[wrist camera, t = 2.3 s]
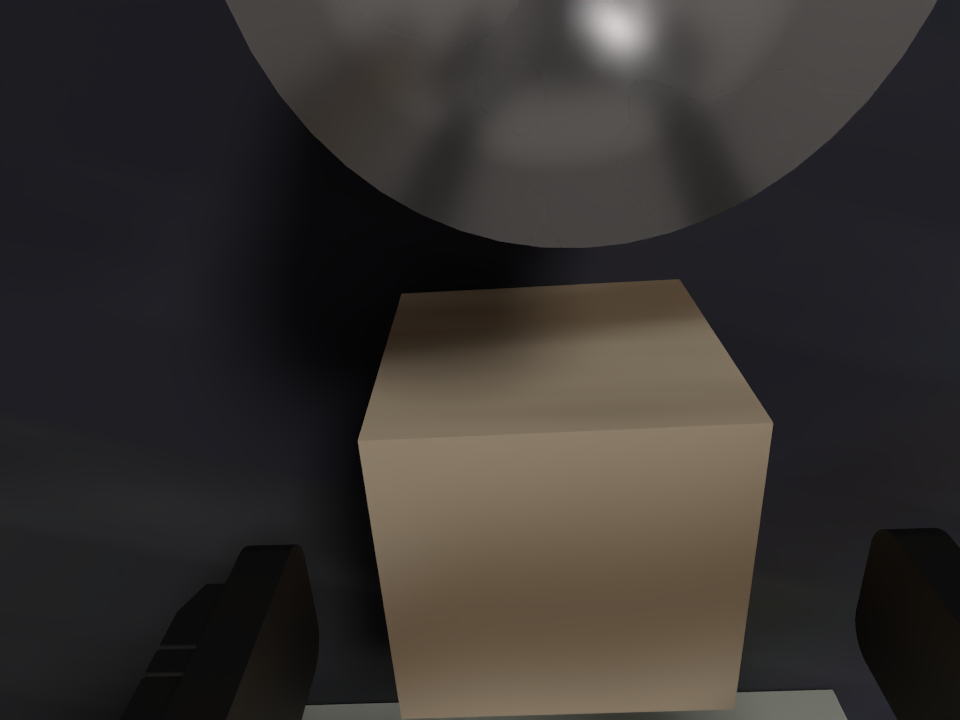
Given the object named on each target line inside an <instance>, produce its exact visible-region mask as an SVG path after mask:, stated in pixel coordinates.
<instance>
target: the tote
mask: <svg viewBox="0 0 960 720" xmlns="http://www.w3.org/2000/svg"><path fill="white" fill-rule="evenodd" d="M302 720H847V718H846V716H845V714H844V712H843V710H842V708H841V706H840V704H839V702H838V700H837V698H836V696H835V694H834V692H833V690H802V691H769V692H737V693H736V700H735V707H734V709H730V710H695V711H660V712H625V713H591V714H556V715H521V716H486V717H451V718H416V719H402V718H401V712H400V706H399V703H371V704H337V705H306V706H305V710H304V713H303V717H302Z"/></svg>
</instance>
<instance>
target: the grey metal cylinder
mask: <svg viewBox="0 0 960 720" xmlns="http://www.w3.org/2000/svg"><path fill="white" fill-rule="evenodd" d="M936 1H937V0H226V2H227V4H228V6H229V8H230V10H231V12H232V14H233V16H234V18H235V20H236V22H237V24H238V26H239V28H240V30H241V32H242V34H243V36H244V38H245V40H246V42H247V44H248V46H249V48H250V50H251V52H252V53H253V55H254V56H255V58H256V59H257V61H258V63H259V64H260V66H261V67H262V69H263V70H264V72H265V73H266V75H267V76H268V78H269V79H270V81H271V82H272V84H273V86H274V87H275V89H276V90H277V92H278V93H279V95H280V96H281V97H282V98H283V100H284V101H285V102H286V103H287V104H288V106H289V107H290V108H291V109H292V110H293V112H294V113H295V114H296V115H297V116H298V118H299V119H300V120H301V121H302V122H303V124H304V125H305V126H306V127H307V128H308V130H309V131H310V132H311V133H312V134H313V135H314V136H315V137H316V138H317V139H318V140H319V141H320V142H321V143H322V144H323V145H325V146H326V147H327V148H328V149H329V150H330V151H331V152H332V153H333V154H334V155H335V156H336V157H337V158H338V159H339V160H340V161H341V162H342V163H343V164H344V165H346V166H347V167H348V168H350V169H351V170H352V171H354V172H355V173H356V174H358V175H359V176H360V177H362V178H363V179H364V180H366V181H367V182H369V183H370V184H371V185H373V186H374V187H375V188H377V189H378V190H379V191H381V192H382V193H384V194H386V195H387V196H389V197H391V198H393V199H394V200H396V201H398V202H400V203H401V204H403V205H405V206H407V207H408V208H410V209H412V210H414V211H415V212H417V213H419V214H421V215H423V216H426V217H428V218H431V219H433V220H436V221H438V222H440V223H443V224H445V225H448V226H450V227H453V228H455V229H457V230H460V231H463V232H467V233H471V234H475V235H478V236H482V237H486V238H489V239H493V240H497V241H500V242H507V243H514V244H522V245H529V246H536V247H550V248H588V247H597V246H606V245H614V244H623V243H630V242H634V241H638V240H642V239H646V238H650V237H655V236H659V235H663V234H667V233H671V232H673V231H676V230H679V229H681V228H684V227H687V226H690V225H692V224H695V223H698V222H700V221H703V220H706V219H708V218H711V217H713V216H715V215H717V214H719V213H721V212H723V211H725V210H727V209H729V208H731V207H733V206H735V205H737V204H739V203H741V202H743V201H745V200H747V199H749V198H750V197H752V196H754V195H756V194H757V193H759V192H760V191H762V190H763V189H765V188H766V187H768V186H769V185H771V184H772V183H774V182H775V181H777V180H778V179H780V178H781V177H783V176H784V175H786V174H787V173H789V172H790V171H792V170H793V169H795V168H796V167H797V166H798V165H799V164H801V163H802V162H803V161H804V160H805V159H807V158H808V157H809V156H810V155H811V154H813V153H814V152H815V151H816V150H817V149H819V148H820V147H821V146H822V145H823V144H825V143H826V142H827V141H828V140H829V139H831V138H832V137H833V136H834V135H835V134H836V133H837V132H838V131H839V130H840V129H841V128H842V127H843V126H844V125H845V124H846V122H847V121H848V120H849V119H850V118H851V117H852V116H853V115H854V114H855V113H856V112H857V111H858V110H859V109H860V108H861V107H862V106H863V105H864V104H865V103H866V102H867V101H868V100H869V99H870V97H871V96H872V95H873V93H874V92H875V91H876V90H877V88H878V87H879V86H880V85H881V83H882V82H883V81H884V79H885V78H886V77H887V76H888V74H889V73H890V72H891V71H892V69H893V68H894V67H895V65H896V64H897V63H898V62H899V60H900V59H901V58H902V57H903V55H904V53H905V52H906V50H907V49H908V47H909V46H910V44H911V42H912V41H913V39H914V38H915V36H916V34H917V33H918V31H919V30H920V28H921V27H922V25H923V23H924V22H925V20H926V19H927V17H928V15H929V14H930V12H931V11H932V9H933V7H934V5H935V3H936Z"/></svg>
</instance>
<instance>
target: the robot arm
mask: <svg viewBox="0 0 960 720" xmlns="http://www.w3.org/2000/svg"><path fill="white" fill-rule="evenodd" d="M855 623H856V634H857V639H858V643H859V647H860V650H861V653H862V655H863V658H864V660H865V662H866V664H867V665H868V667H869V669H870V671H871V673H872V674H873V676H874V678H875V680H876V682H877V683H878V685H879V687H880V689H881V691H882V692H883V694H884V696H885V698H886V700H887V702H888V703H889V705H890V707H891V709H892V711H893V712H894V714H895V716H896V718H897V720H960V548H959V547H958V545H957V544H956V543H955V542H954V541H953V539H952V538H951V537H950V536H949V535H948V534H947V533H946V532H945V531H943V530H941V529H939V528H916V529H882V530H879V531H877V532H876V533H875V535H874V536H873V538H872V542H871V546H870V550H869V555H868V559H867V564H866V568H865V573H864V577H863V582H862V586H861V591H860V596H859V600H858V605H857V609H856V618H855ZM318 649H319V629H318V622H317V616H316V612H315V607H314V602H313V597H312V592H311V587H310V582H309V577H308V572H307V567H306V563H305V558H304V554H303V551H302V549H301V547H300V546H299V545H297V544H296V545H261V546H246V547H245V548H243V550H242V551H241V553H240V554H239V556H238V559H237V561H236V563H235V565H234V567H233V569H232V571H231V573H230V576H229V578H228V580H227V582H226V584H206V585H205V586H204V587H203V588H202V589H201V590H200V591H199V592H198V593H197V594H196V595H195V596H194V597H192V598H191V599H190V600H189V601H188V602H187V603H186V604H185V605H184V606H183V607H182V608H181V609H180V610H179V611H178V612H177V614H176V615H175V617H174V619H173V621H172V623H171V625H170V627H169V629H168V631H167V632H166V634H165V636H164V638H163V640H162V642H161V644H160V651H156V653H155V655H154V657H153V659H152V661H151V663H150V665H149V667H148V668H147V670H146V677H145V679H142V680H141V682H140V684H139V685H138V687H137V689H136V691H135V693H134V695H133V697H132V699H131V701H130V703H129V704H128V706H127V708H126V710H125V712H124V714H123V716H122V718H121V720H302V717H303V713H304V710H305V706H306V702H307V699H308V695H309V691H310V688H311V684H312V681H313V677H314V673H315V669H316V665H317V659H318Z"/></svg>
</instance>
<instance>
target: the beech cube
mask: <svg viewBox="0 0 960 720" xmlns="http://www.w3.org/2000/svg"><path fill="white" fill-rule="evenodd" d="M772 428H773V422H772V420H771V419H770V417H769V416H768V414H767V413H766V411H765V410H764V408H763V407H762V405H761V403H760V402H759V400H758V399H757V397H756V396H755V394H754V393H753V391H752V390H751V388H750V387H749V385H748V384H747V382H746V381H745V379H744V377H743V376H742V374H741V373H740V371H739V370H738V368H737V367H736V365H735V364H734V362H733V361H732V359H731V358H730V356H729V355H728V353H727V351H726V350H725V348H724V347H723V345H722V344H721V342H720V341H719V339H718V338H717V336H716V335H715V333H714V332H713V330H712V328H711V327H710V325H709V324H708V322H707V321H706V319H705V318H704V316H703V315H702V313H701V312H700V310H699V309H698V307H697V306H696V304H695V302H694V301H693V299H692V298H691V296H690V295H689V293H688V292H687V290H686V289H685V287H684V286H683V284H682V283H681V281H680V280H679V279H676V280H657V281H637V282H618V283H599V284H580V285H560V286H541V287H522V288H503V289H484V290H464V291H445V292H426V293H407V294H401V297H400V300H399V304H398V307H397V311H396V314H395V317H394V321H393V324H392V327H391V331H390V334H389V337H388V341H387V344H386V348H385V351H384V354H383V358H382V361H381V364H380V368H379V371H378V374H377V378H376V381H375V384H374V388H373V391H372V395H371V398H370V401H369V405H368V408H367V411H366V415H365V418H364V421H363V425H362V428H361V431H360V435H359V438H358V446H359V453H360V459H361V465H362V472H363V478H364V484H365V491H366V497H367V503H368V510H369V516H370V522H371V529H372V535H373V541H374V548H375V554H376V560H377V567H378V573H379V579H380V586H381V592H382V598H383V605H384V611H385V617H386V623H387V630H388V636H389V642H390V649H391V655H392V661H393V668H394V674H395V680H396V687H397V693H398V699H399V706H400V712H401V718H402V719H416V718H451V717H486V716H521V715H556V714H591V713H625V712H660V711H695V710H730V709H734V707H735V700H736V693H737V685H738V678H739V671H740V663H741V656H742V649H743V641H744V634H745V627H746V619H747V612H748V604H749V597H750V590H751V582H752V575H753V568H754V560H755V553H756V546H757V538H758V531H759V524H760V516H761V509H762V502H763V494H764V487H765V479H766V472H767V465H768V457H769V450H770V443H771V435H772Z"/></svg>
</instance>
